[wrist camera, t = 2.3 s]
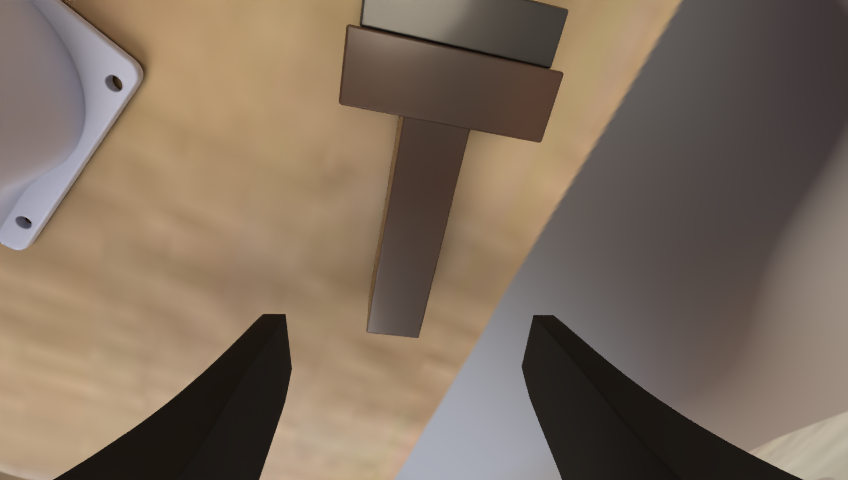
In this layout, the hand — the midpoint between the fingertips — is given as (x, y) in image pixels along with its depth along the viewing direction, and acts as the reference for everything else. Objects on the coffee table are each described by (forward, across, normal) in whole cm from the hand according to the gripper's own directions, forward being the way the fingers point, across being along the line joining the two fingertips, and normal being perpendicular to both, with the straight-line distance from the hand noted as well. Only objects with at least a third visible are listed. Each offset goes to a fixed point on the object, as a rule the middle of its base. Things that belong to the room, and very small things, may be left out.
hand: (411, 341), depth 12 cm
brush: (+7, 0, -3) cm, 7 cm away
